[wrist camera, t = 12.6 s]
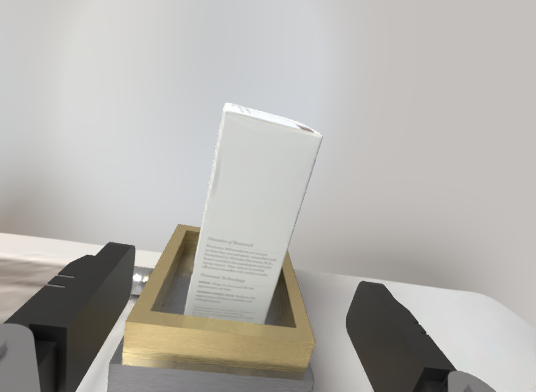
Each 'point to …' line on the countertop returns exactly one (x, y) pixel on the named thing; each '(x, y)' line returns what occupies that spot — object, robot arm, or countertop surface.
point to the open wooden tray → (208, 335)
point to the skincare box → (249, 213)
